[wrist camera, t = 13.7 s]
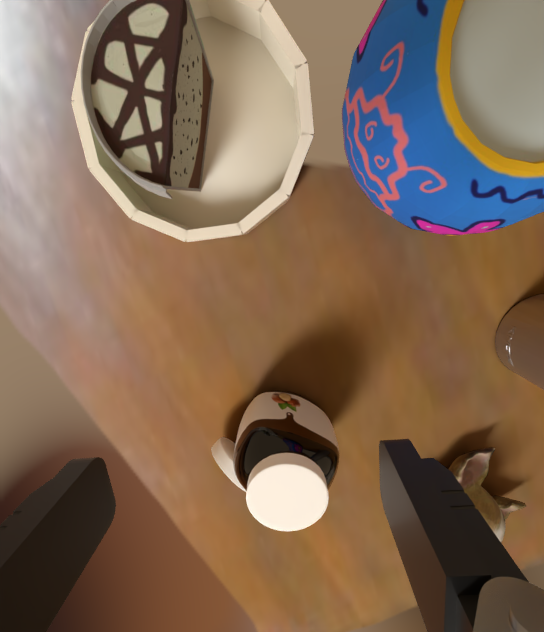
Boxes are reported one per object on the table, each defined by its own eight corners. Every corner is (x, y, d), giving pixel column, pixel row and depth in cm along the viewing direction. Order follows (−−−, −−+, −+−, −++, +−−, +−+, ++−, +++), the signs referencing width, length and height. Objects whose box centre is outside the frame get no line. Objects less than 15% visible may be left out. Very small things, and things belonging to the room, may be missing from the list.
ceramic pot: (540, 184, 30) (783, 140, 16) (365, 264, 32) (436, 289, 18) (491, -19, 26) (754, -329, 12) (296, 87, 29) (315, -65, 14)
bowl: (294, -7, 27) (297, -52, 23) (316, 224, 32) (322, 223, 27) (79, 31, 28) (43, -5, 23) (132, 250, 32) (109, 252, 28)
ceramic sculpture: (395, 556, 31) (536, 482, 29) (366, 489, 39) (474, 428, 38) (442, 622, 33) (574, 556, 32) (405, 545, 42) (508, 490, 40)
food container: (146, 46, 27) (73, -57, 18) (216, 60, 27) (182, -34, 18) (135, 195, 30) (68, 177, 21) (198, 207, 31) (162, 195, 21)
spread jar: (336, 404, 37) (362, 481, 25) (300, 480, 39) (309, 579, 28) (239, 370, 36) (221, 434, 24) (209, 450, 39) (180, 540, 27)
